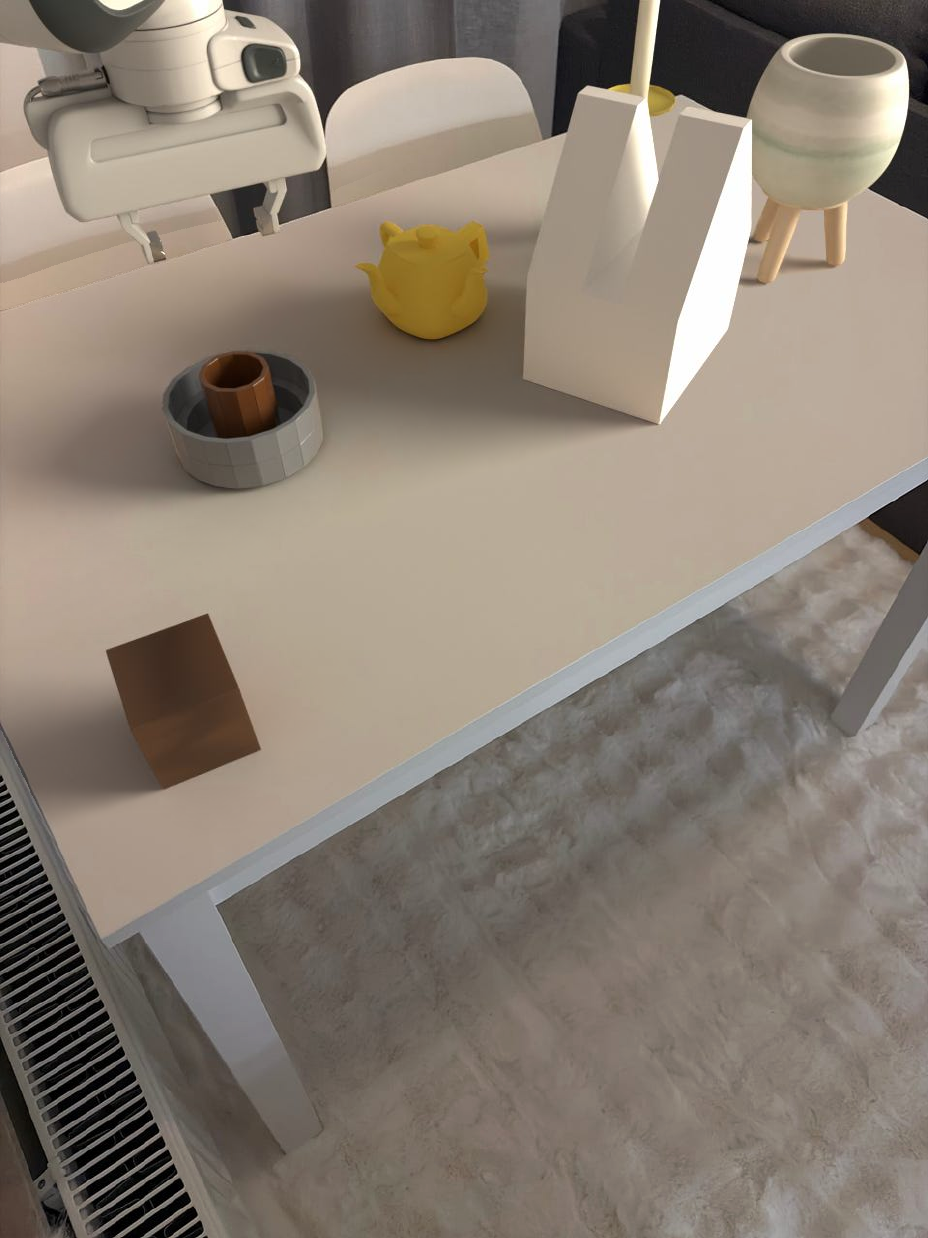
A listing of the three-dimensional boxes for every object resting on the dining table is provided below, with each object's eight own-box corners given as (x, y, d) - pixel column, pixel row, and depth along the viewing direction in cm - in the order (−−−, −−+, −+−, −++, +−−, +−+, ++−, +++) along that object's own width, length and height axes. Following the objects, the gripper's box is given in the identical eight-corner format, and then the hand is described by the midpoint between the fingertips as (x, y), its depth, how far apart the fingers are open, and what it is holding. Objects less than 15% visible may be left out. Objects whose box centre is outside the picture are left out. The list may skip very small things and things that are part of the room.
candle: (677, 225, 116) (730, -91, 91) (633, 257, 111) (676, -67, 86) (612, 201, 120) (645, -106, 95) (567, 231, 116) (589, -85, 91)
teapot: (363, 347, 100) (353, 262, 93) (382, 281, 109) (374, 198, 101) (488, 352, 99) (488, 267, 92) (497, 285, 108) (498, 202, 100)
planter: (732, 219, 117) (774, 19, 100) (863, 240, 113) (930, 35, 96) (705, 283, 107) (747, 74, 90) (847, 308, 103) (919, 95, 86)
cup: (229, 467, 87) (210, 398, 81) (211, 430, 91) (191, 362, 85) (291, 448, 89) (276, 379, 83) (270, 412, 93) (255, 343, 86)
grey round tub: (201, 510, 84) (185, 460, 80) (162, 424, 93) (145, 374, 88) (345, 463, 88) (337, 413, 84) (295, 384, 96) (285, 334, 92)
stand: (163, 790, 66) (129, 729, 60) (138, 713, 70) (105, 650, 64) (261, 749, 68) (238, 687, 62) (231, 677, 72) (208, 612, 66)
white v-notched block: (659, 424, 91) (705, 169, 72) (523, 378, 96) (532, 129, 77) (727, 328, 101) (784, 83, 82) (601, 291, 107) (627, 53, 87)
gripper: (20, 100, 59) (91, 295, 70) (319, 44, 64) (343, 233, 75) (6, 66, 63) (76, 257, 73) (291, 16, 68) (317, 200, 79)
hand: (213, 245), depth 74 cm, fingers open, 8 cm apart
